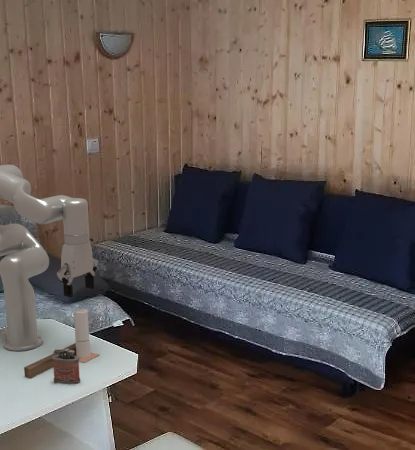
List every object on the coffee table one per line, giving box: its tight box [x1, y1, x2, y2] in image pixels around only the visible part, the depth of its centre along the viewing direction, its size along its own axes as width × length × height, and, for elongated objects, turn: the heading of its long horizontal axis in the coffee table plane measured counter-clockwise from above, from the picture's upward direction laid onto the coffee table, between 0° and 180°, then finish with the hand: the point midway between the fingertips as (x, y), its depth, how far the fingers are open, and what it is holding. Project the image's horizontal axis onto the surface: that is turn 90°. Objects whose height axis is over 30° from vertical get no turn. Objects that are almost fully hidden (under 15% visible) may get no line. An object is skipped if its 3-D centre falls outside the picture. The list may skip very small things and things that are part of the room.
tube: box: [73, 308, 91, 359], centre depth 214 cm, size 4×4×15 cm
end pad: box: [79, 351, 100, 364], centre depth 215 cm, size 6×7×1 cm
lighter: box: [52, 347, 81, 385], centre depth 197 cm, size 8×3×10 cm, turn 78°
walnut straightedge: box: [23, 342, 76, 379], centre depth 210 cm, size 2×24×3 cm, turn 148°
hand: (79, 292), depth 211 cm, fingers open, 9 cm apart
